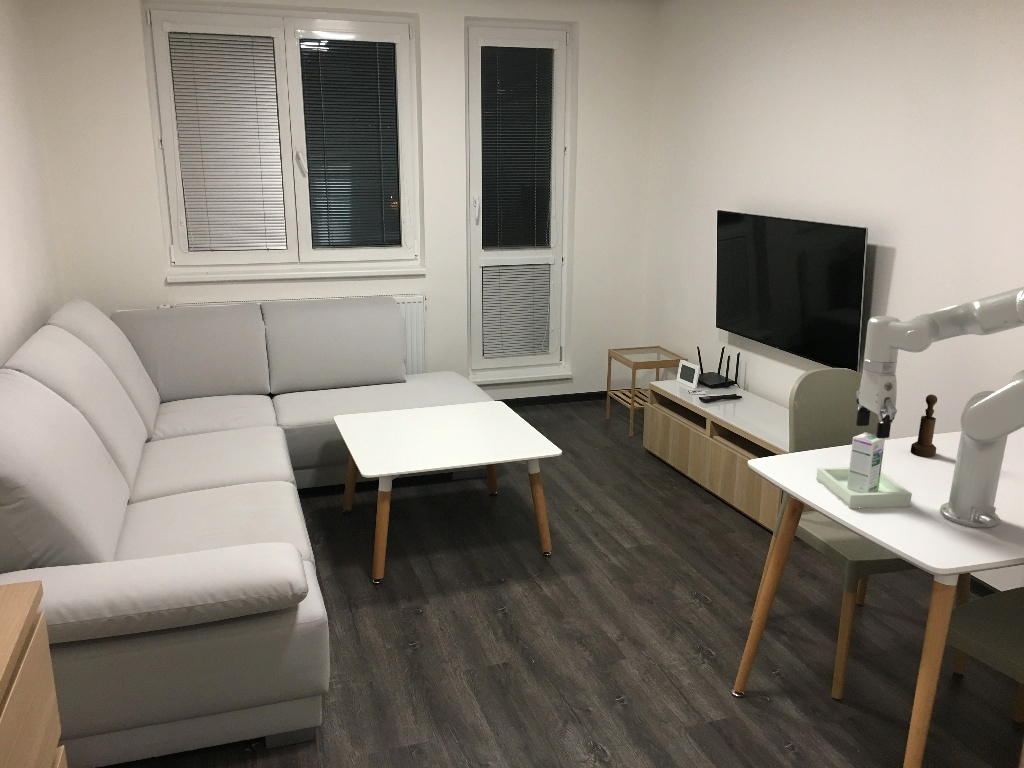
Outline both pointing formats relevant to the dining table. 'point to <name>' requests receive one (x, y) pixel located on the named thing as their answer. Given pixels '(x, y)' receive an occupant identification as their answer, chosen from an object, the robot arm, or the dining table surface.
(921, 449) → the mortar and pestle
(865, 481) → the syrup box
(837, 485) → the tray
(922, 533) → the dining table surface
